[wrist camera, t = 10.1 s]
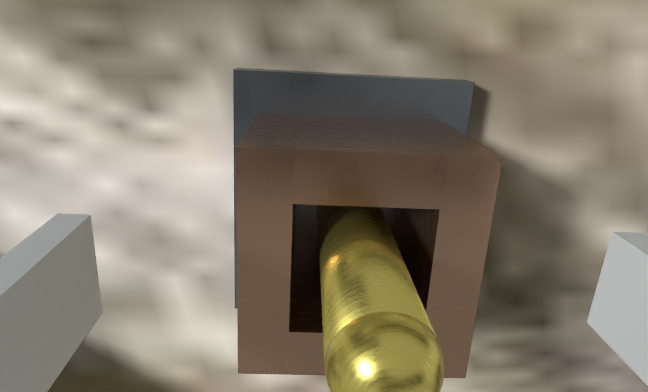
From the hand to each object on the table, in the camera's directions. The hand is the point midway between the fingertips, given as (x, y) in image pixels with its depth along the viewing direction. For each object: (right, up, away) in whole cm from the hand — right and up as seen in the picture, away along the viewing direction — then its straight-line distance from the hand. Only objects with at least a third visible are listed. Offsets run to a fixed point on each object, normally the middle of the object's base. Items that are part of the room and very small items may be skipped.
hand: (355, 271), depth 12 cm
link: (0, +2, +7) cm, 7 cm away
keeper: (0, +2, +8) cm, 8 cm away
